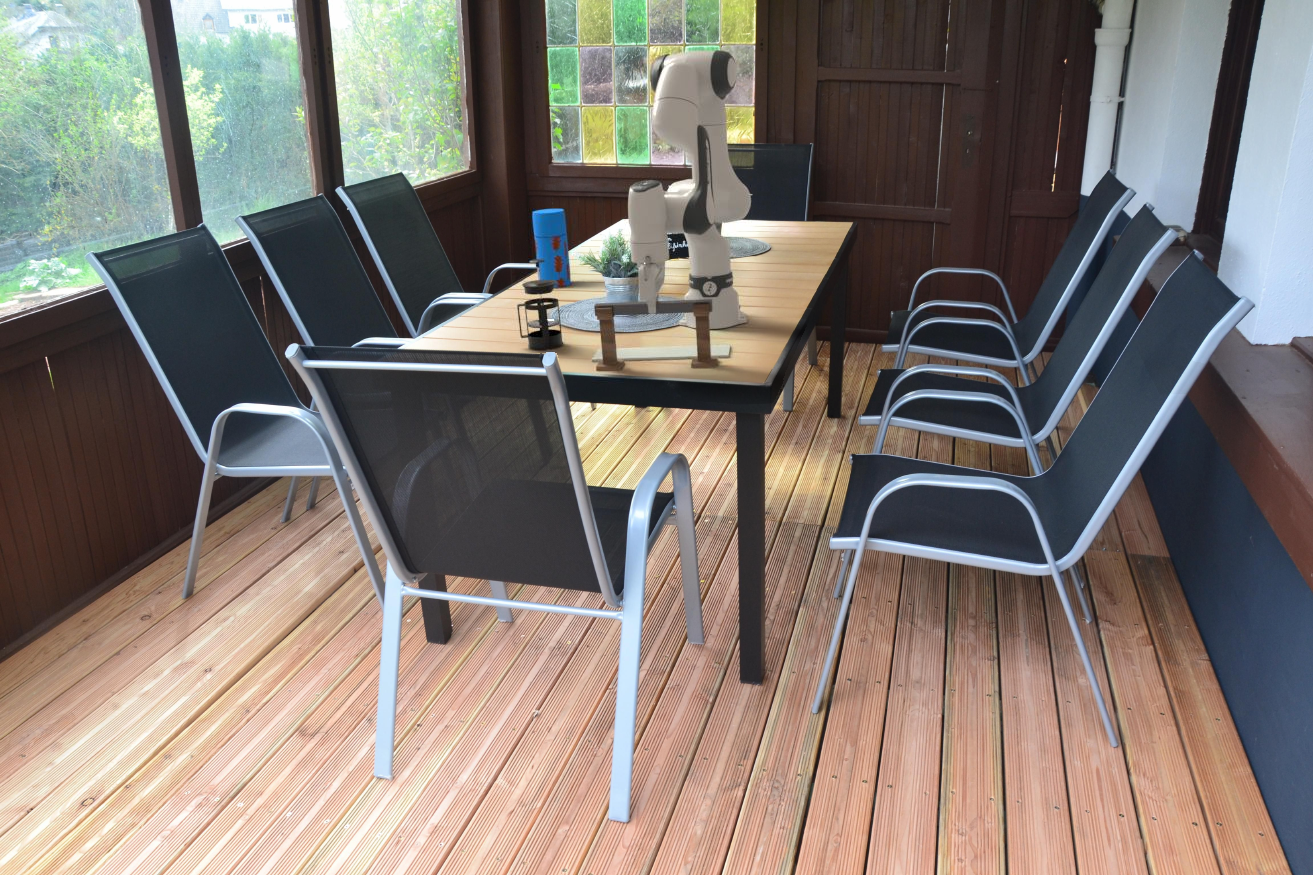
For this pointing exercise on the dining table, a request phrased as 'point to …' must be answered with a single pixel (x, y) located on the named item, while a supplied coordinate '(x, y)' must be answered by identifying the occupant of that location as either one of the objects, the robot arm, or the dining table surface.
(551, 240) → the thermos
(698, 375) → the dining table surface
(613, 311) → the rail
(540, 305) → the french press
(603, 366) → the stands
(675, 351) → the mat
